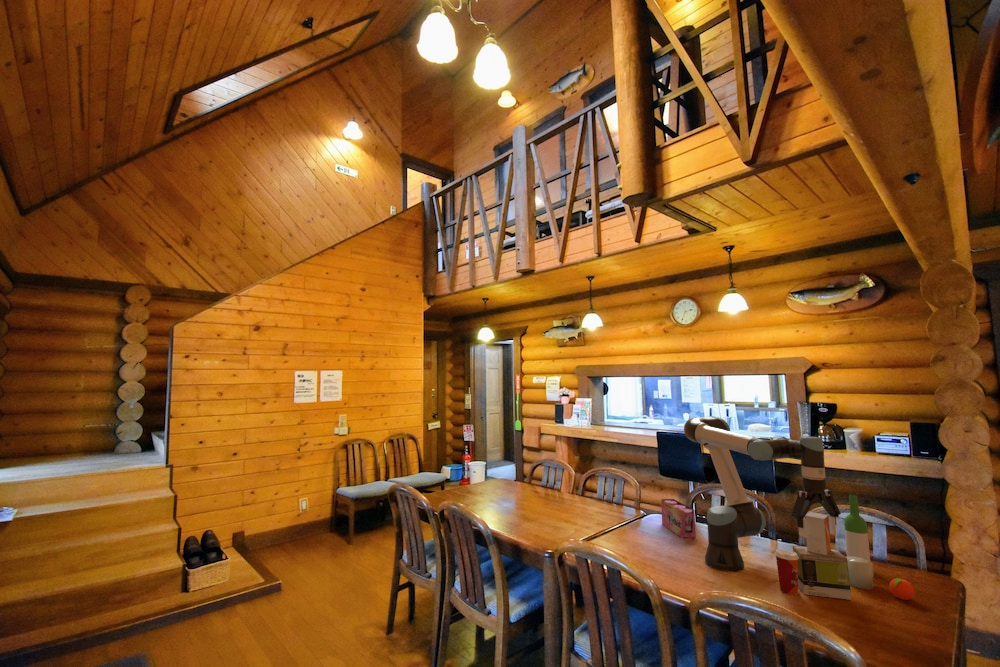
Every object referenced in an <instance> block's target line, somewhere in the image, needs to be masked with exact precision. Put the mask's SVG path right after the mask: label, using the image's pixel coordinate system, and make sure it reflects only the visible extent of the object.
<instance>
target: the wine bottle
mask: <svg viewBox="0 0 1000 667" xmlns="http://www.w3.org/2000/svg"><path fill="white" fill-rule="evenodd" d="M848 500H849V501H848V502H849V503H848V504H849V514H848V515H847V516H845V518H844V523H843V525H844V535H845V538H844V540H845V548H846V549H845V551H846V557H847V556H852V557H859V558H863V559H866V560H868V561H870V562H871V555H870V546H869V545H870V544H869V533H868V524H867V522H866V520H865V519H864V517H862V516H861V515H860V511H859V509H860V508H859V499H858V496H857V495H855V494H848Z"/></svg>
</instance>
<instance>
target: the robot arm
mask: <svg viewBox="0 0 1000 667" xmlns="http://www.w3.org/2000/svg"><path fill="white" fill-rule="evenodd" d="M683 431H684V434H685V436H686V438H687V439H688V440H690V441H692V442H694V443H698V444H702V445H703V448H705V449H706V450H708V452H709V455H710V456H711V460H712V463H713V467H714V469H715V472H716V473H717V476H718V480H719V481H720V484H721V488H722V491H723V493H724V496H725V499H726V504H725V505H715V506H711V507H710V508H708V510H707V513H706V514H707V516H706V522H707V538H708V544H707V547H706V548H707V549H706V553H705V555H704V563H705V564H706V565H707V566H708V567H710V568H713V569H715V568H716V569H715V570H719V571H724V572H733V573H735V572H741V571H743V570H744V569H745V562H744V560H743V557H742V554H741V552H740V549H739V539H740V538H745V537H753V536H756V535H759V534H762V533H763V531H764V530H765V528H766V517H765V515H764V513H763V511H762V510H761V509H759V508H758V507H756V506H755V504H754V502H753V501H752V499H750V498H748V497H747V494H746V491H745V488H744V486H743V483H742V480H741V478H740V476H739V473H738V470H737V467H736V465H735V462H734V460H733V457H732V454H731V452H730V450H731V451H734V452H736V453H737V452H738V453H739V454H744V455H748V456H750V457H751V458H752V459H753V460H755V461H763V462H764V461H771V460H782V459H783V460H784V459H790V460H792V459H793V460H798V461H800V464H801V466H800V467H801V475H802V477H801V479H802V480H801V482H802V487H803V488H804V491H802V490H797V497H796V500H795V502H794V506H793V509H792V512H791V516H792V517H794V518H796V523H797V524H796V526H797V527H798V536H800V537H803V538H806V539H807V529H806V519H805V515H806V514H807V513H809V510H810V508H811V507H812V506H813V505H814V504H815V505H816V504H820V505H821V506H822V508H823V509H824V510H825V511H826V513H827V515H829V528H830V535H833V536H836V535H837V527H836V526H837V518H839V516H840V515H841V514H842V512H841V511H840V508H839V507H838V506H839V505H837V502H836V500H835V499H834V496H833V491H832V489H831V490H830V489H827V480H826V479H825V478H826V469H825V468H826V466H825V448H824V441H823V439H822V438H821V437H818V436H807V435H805V436H804V435H803V436H800V437H799V439H798V440H797V439H796V440H795V439H789V438H788V439H787V438H783V437H773V438H772V439H762V438H759V437H758V438H757V437H754V436H750V435H745V434H741V433H738V432H733V431H731V428H730V425H729V424H728V423H727V421H726V420H724V419H723V418H721V417H719V416H718V417H717V416H716V417H715V416H708V417H707V416H706V417H701V416H700V417H699V416H698V417H692V418H689V419H688V420H687V421H686V422H685V423H684V427H683Z"/></svg>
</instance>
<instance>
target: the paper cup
mask: <svg viewBox="0 0 1000 667" xmlns="http://www.w3.org/2000/svg"><path fill="white" fill-rule="evenodd" d="M774 556H775V558H776V566H777V575H778V582H779V583H778V584H779V589H780V591H781V592H782V593H783V594H786V595H790V596H796V595H798V594H799V587H798V559H799V557H798V556H797V554H796V553H795V552H793V550H788V549H776V550H775V553H774Z"/></svg>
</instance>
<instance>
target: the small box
mask: <svg viewBox="0 0 1000 667" xmlns="http://www.w3.org/2000/svg"><path fill="white" fill-rule="evenodd" d="M829 516H830V515H829V514H824V513H819V512H815V511H808V512H807V514H806V515H805V517H804V519H806V529H807V538H806V547H807V551H809V552H814V553H818V554H823V555H827V554H828V553H829V552H830V551H831V549H832V545H831V534H830V528H829Z"/></svg>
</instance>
